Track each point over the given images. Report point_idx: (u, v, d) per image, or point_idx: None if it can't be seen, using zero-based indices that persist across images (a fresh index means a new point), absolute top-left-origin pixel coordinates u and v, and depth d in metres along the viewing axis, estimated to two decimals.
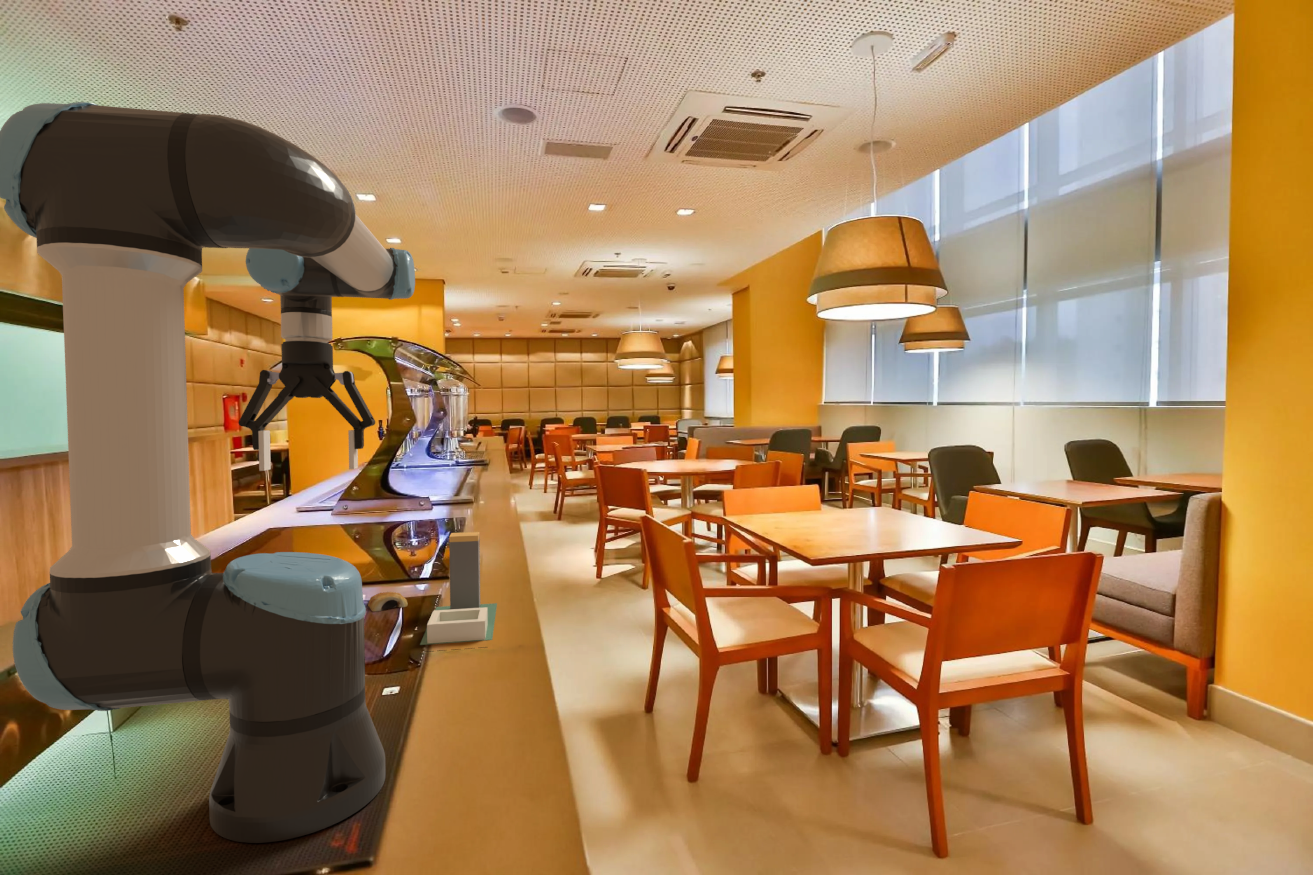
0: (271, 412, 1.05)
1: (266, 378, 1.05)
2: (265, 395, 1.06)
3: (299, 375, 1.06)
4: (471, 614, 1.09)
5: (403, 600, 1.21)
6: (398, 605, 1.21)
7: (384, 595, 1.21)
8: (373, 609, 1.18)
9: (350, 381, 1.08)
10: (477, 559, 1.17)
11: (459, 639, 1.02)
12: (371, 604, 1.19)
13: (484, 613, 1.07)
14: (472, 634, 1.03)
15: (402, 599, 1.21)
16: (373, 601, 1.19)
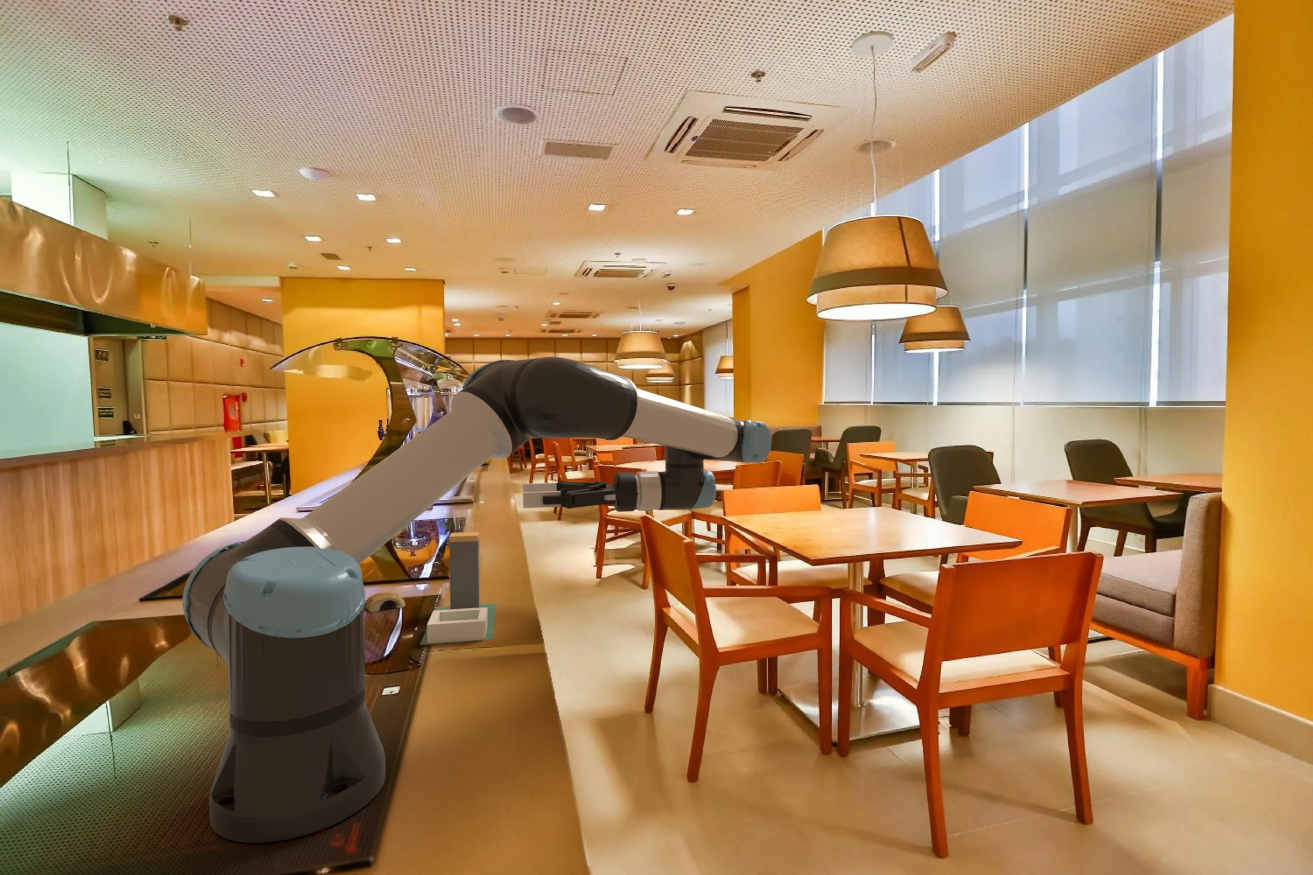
0: (572, 484, 1.27)
1: None
2: None
3: (605, 486, 1.24)
4: (471, 614, 1.09)
5: (401, 600, 1.21)
6: (396, 605, 1.20)
7: (382, 595, 1.20)
8: (371, 610, 1.18)
9: (606, 491, 1.16)
10: (477, 559, 1.17)
11: (459, 639, 1.02)
12: (369, 605, 1.19)
13: (484, 613, 1.07)
14: (472, 634, 1.03)
15: (400, 599, 1.21)
16: (371, 602, 1.19)
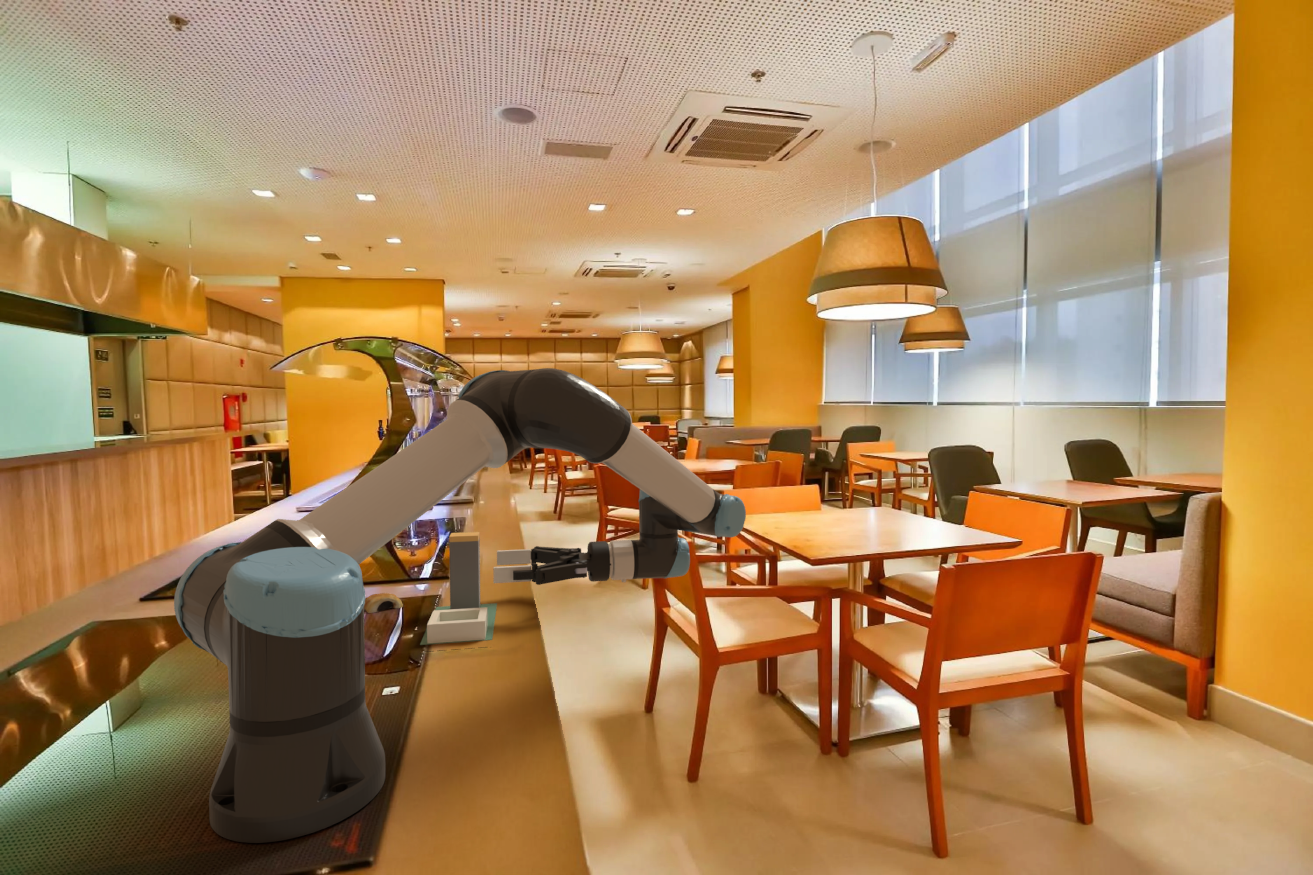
0: (546, 551, 1.27)
1: (574, 549, 1.29)
2: None
3: (579, 555, 1.24)
4: (471, 614, 1.09)
5: (398, 601, 1.20)
6: (393, 606, 1.20)
7: (379, 596, 1.20)
8: (368, 610, 1.17)
9: (577, 564, 1.16)
10: (477, 559, 1.17)
11: (459, 639, 1.02)
12: (366, 605, 1.18)
13: (484, 613, 1.07)
14: (472, 634, 1.03)
15: (397, 600, 1.20)
16: (368, 602, 1.19)
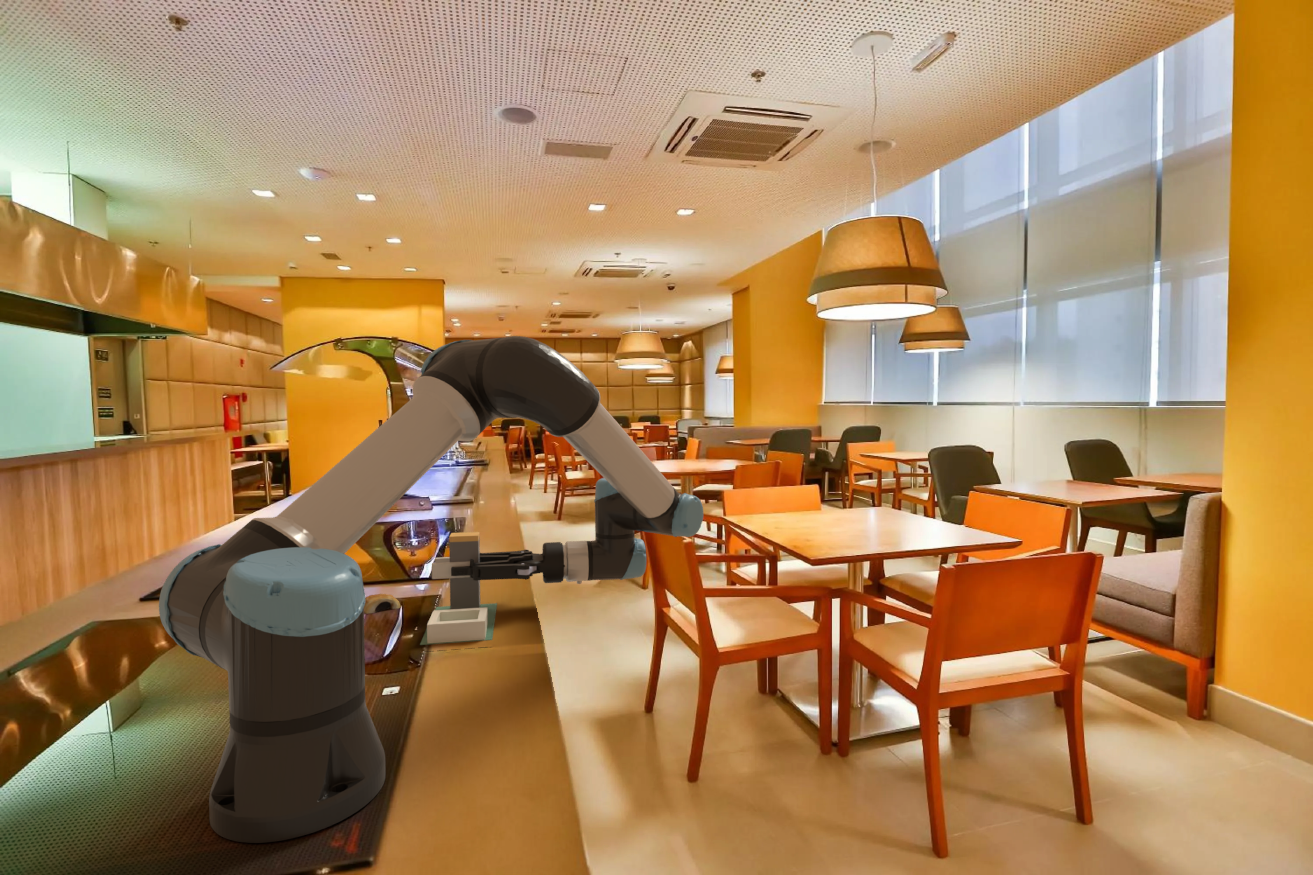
0: (493, 556, 1.21)
1: (523, 551, 1.26)
2: None
3: (533, 555, 1.22)
4: (471, 614, 1.09)
5: (396, 602, 1.20)
6: (391, 607, 1.20)
7: (377, 597, 1.20)
8: (366, 611, 1.17)
9: (518, 565, 1.15)
10: (477, 559, 1.17)
11: (459, 639, 1.02)
12: (364, 606, 1.18)
13: (484, 613, 1.07)
14: (472, 634, 1.03)
15: (395, 601, 1.20)
16: (366, 603, 1.18)
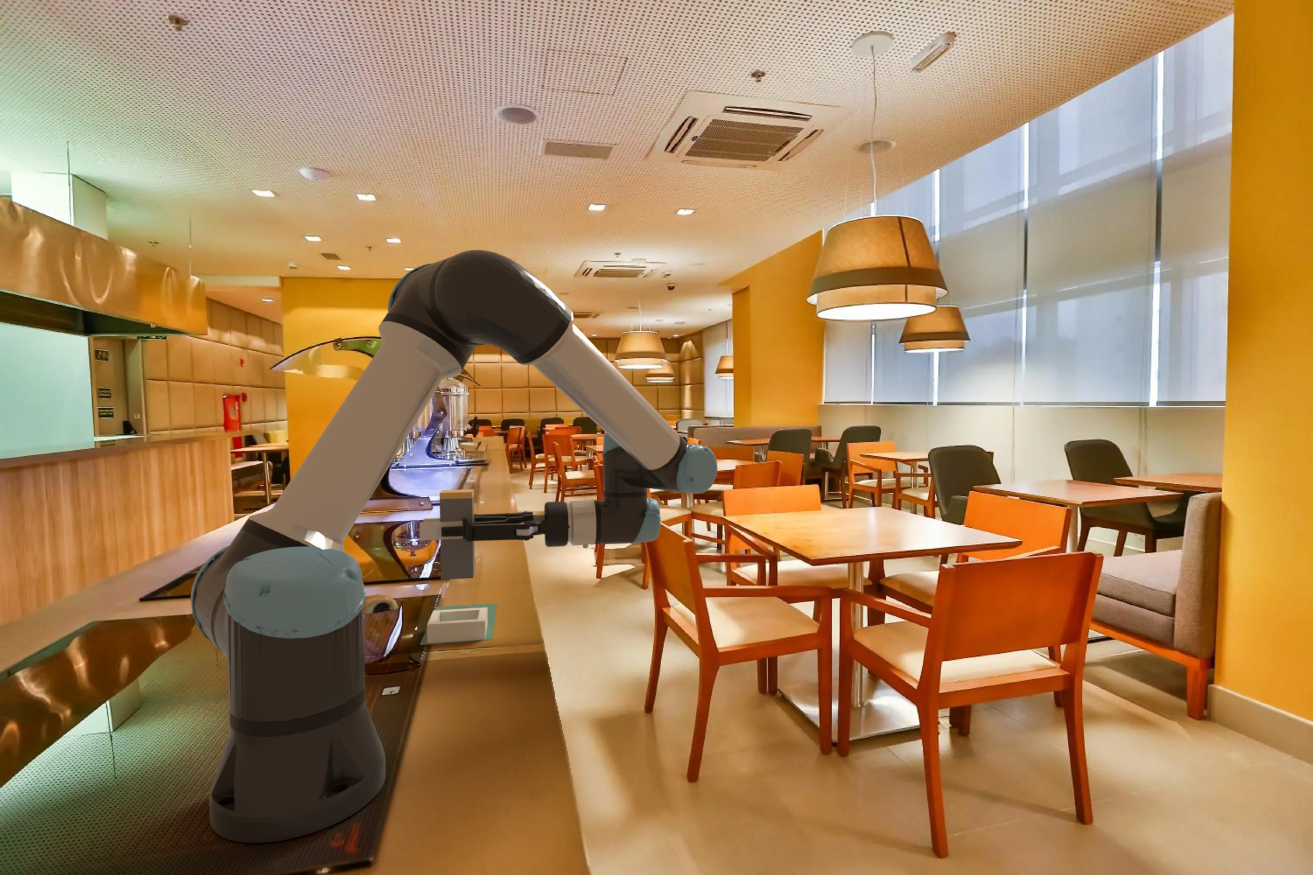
0: (489, 517, 1.08)
1: (522, 513, 1.13)
2: None
3: (534, 516, 1.09)
4: (471, 614, 1.09)
5: (394, 602, 1.20)
6: (389, 607, 1.19)
7: (374, 598, 1.19)
8: (364, 612, 1.17)
9: (517, 524, 1.01)
10: (471, 519, 1.04)
11: (459, 639, 1.02)
12: None
13: (484, 613, 1.07)
14: (472, 634, 1.03)
15: (393, 601, 1.20)
16: None
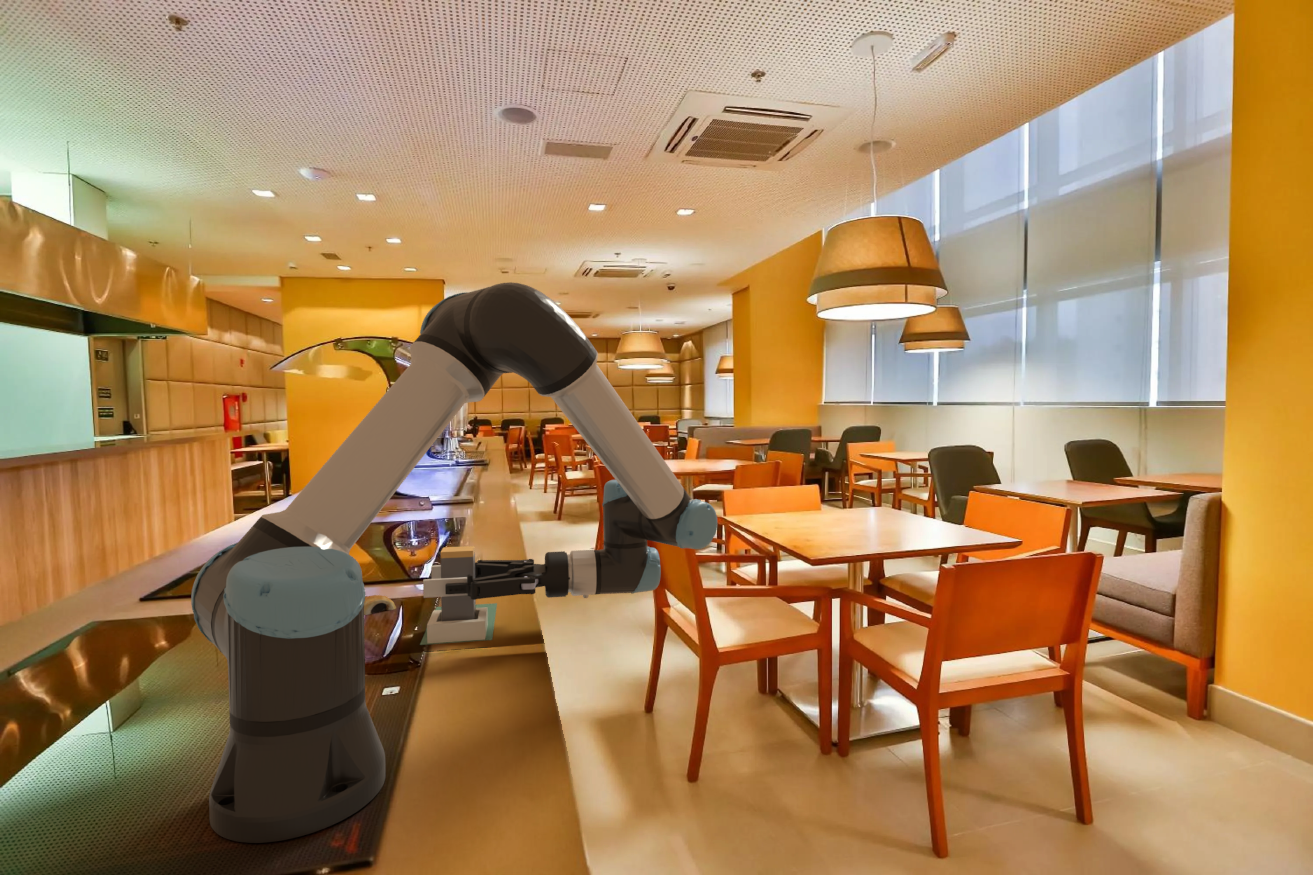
0: (492, 565, 1.10)
1: (526, 560, 1.13)
2: None
3: (534, 567, 1.09)
4: None
5: (392, 603, 1.19)
6: (387, 608, 1.19)
7: (372, 598, 1.19)
8: None
9: (523, 579, 1.01)
10: None
11: (459, 639, 1.02)
12: None
13: (484, 613, 1.07)
14: (472, 634, 1.03)
15: (391, 602, 1.19)
16: None
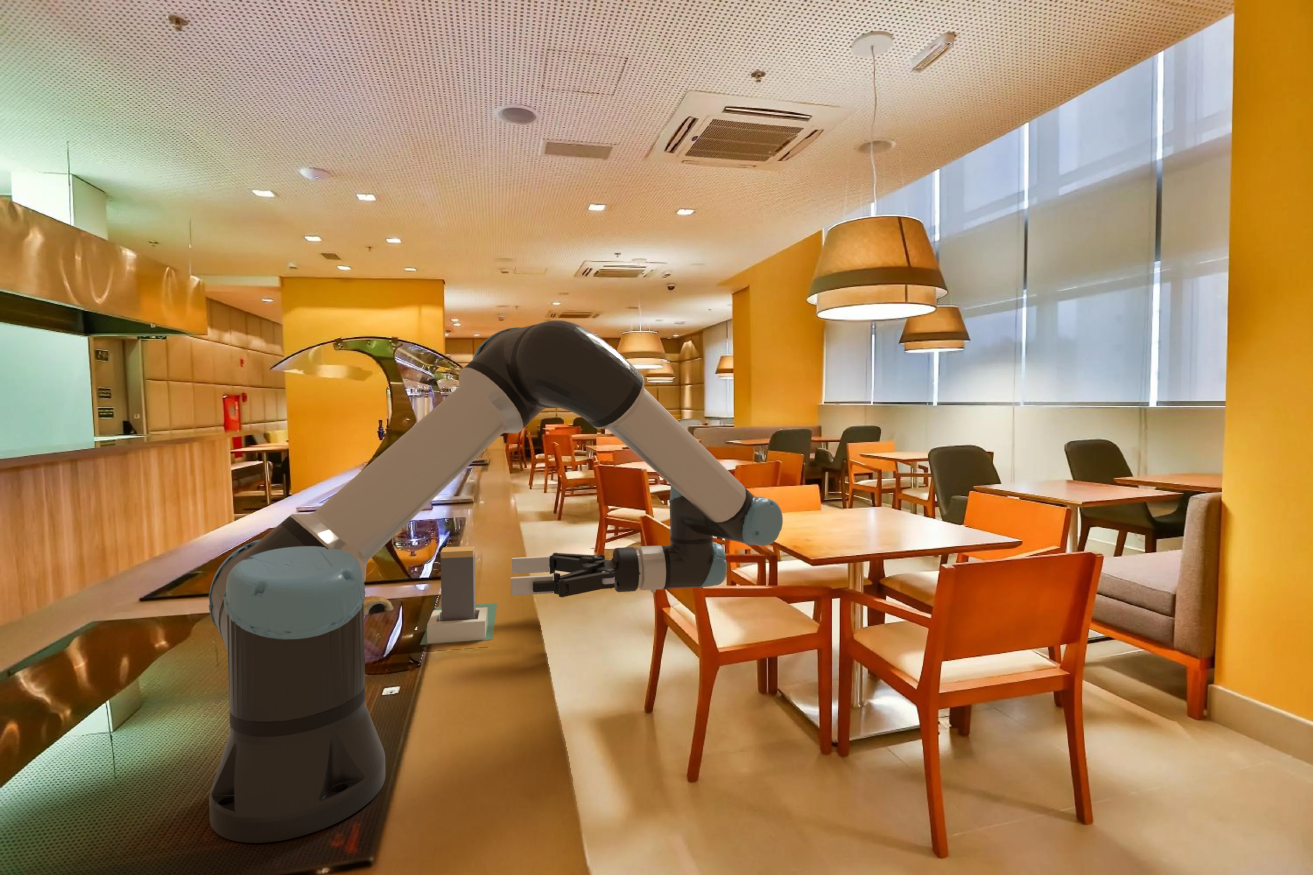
0: (566, 558, 1.15)
1: (597, 556, 1.16)
2: None
3: None
4: None
5: (389, 603, 1.19)
6: (384, 609, 1.19)
7: (369, 599, 1.18)
8: None
9: (604, 574, 1.04)
10: (472, 577, 1.04)
11: (459, 639, 1.02)
12: None
13: (484, 613, 1.07)
14: (472, 634, 1.03)
15: (388, 602, 1.19)
16: None
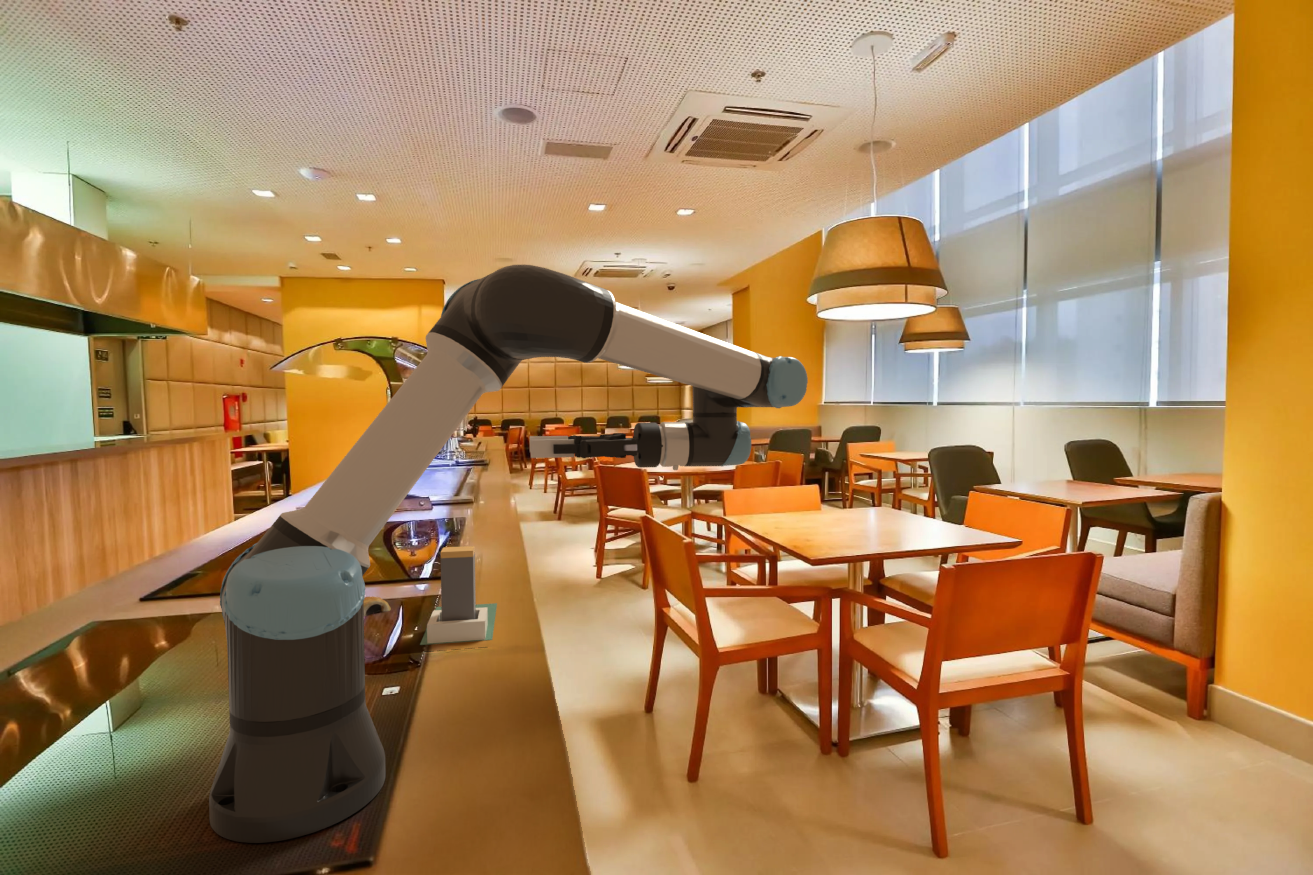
0: (585, 437, 1.11)
1: None
2: None
3: None
4: None
5: (387, 604, 1.18)
6: (382, 609, 1.18)
7: (366, 600, 1.18)
8: None
9: (626, 440, 1.00)
10: (472, 577, 1.04)
11: (459, 639, 1.02)
12: None
13: (484, 613, 1.07)
14: (472, 634, 1.03)
15: (386, 603, 1.18)
16: None
